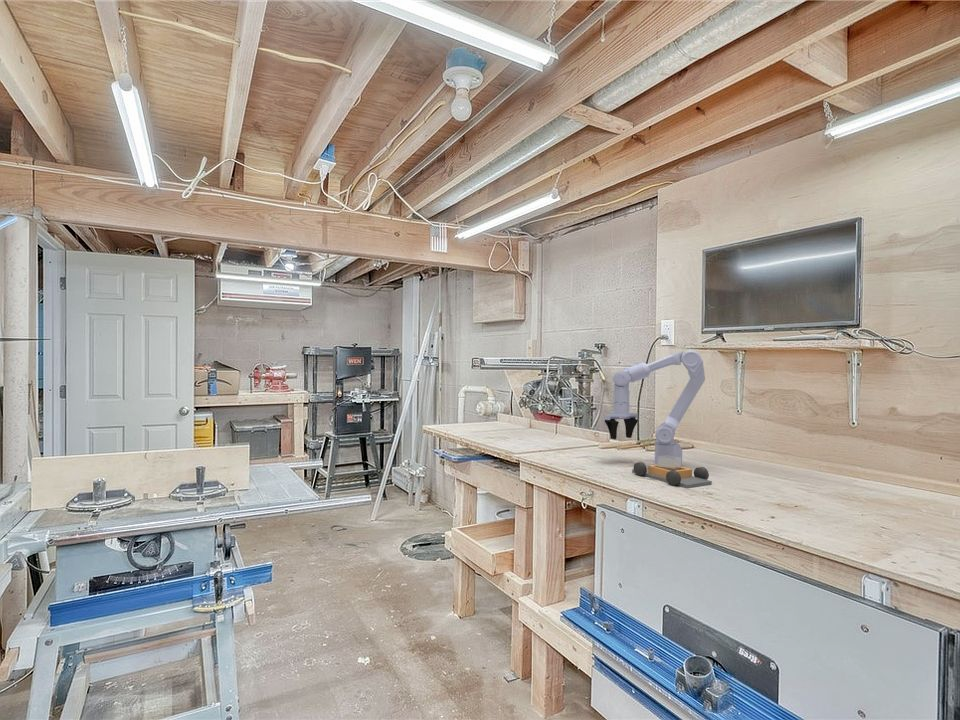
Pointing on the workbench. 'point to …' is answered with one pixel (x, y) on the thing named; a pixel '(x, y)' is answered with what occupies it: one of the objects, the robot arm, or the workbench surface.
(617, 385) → the robot arm
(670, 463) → the engine block
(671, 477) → the chassis
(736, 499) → the workbench surface
